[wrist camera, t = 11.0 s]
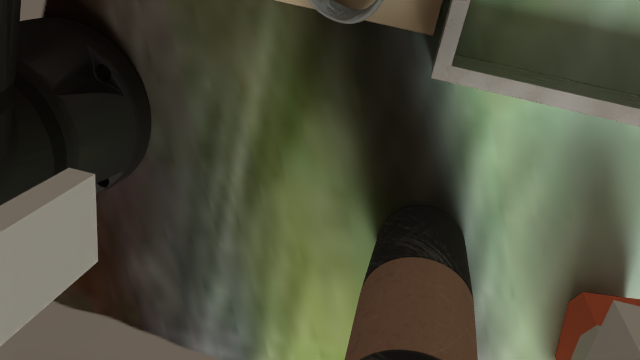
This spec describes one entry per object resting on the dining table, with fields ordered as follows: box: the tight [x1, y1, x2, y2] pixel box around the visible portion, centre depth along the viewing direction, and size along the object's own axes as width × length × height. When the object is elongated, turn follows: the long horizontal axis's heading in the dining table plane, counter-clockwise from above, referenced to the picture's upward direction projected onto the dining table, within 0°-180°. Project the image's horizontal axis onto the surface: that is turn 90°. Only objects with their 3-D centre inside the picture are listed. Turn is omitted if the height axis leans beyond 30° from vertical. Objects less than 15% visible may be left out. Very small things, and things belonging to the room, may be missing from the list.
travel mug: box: [345, 206, 478, 360], centre depth 34 cm, size 8×8×20 cm
